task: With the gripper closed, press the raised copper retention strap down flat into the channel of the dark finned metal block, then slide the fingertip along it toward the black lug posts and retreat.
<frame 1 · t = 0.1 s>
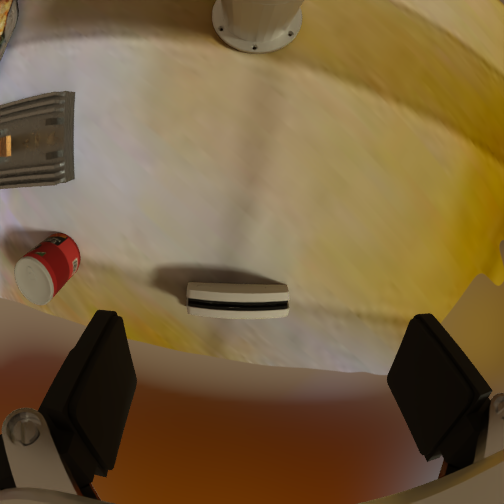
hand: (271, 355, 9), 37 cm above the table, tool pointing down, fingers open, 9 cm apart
heatsink: (33, 140, 38), on the table
canned food: (64, 252, 46), on the table
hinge: (237, 288, 51), on the table
strap: (1, 147, 31), point 7 cm above the table, hinge at 35.0°
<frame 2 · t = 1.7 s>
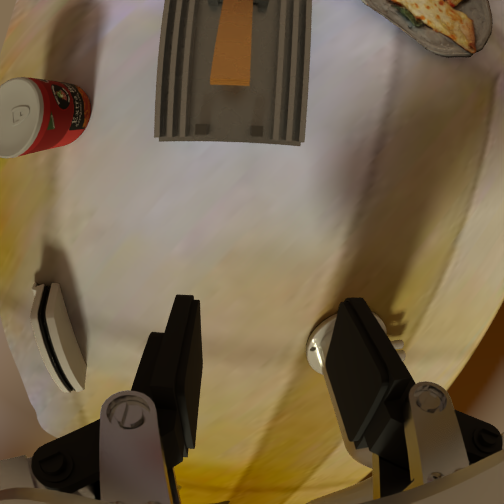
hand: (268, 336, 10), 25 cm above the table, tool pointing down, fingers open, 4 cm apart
heatsink: (234, 65, 28), on the table
canned food: (66, 114, 28), on the table
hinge: (67, 327, 40), on the table
strap: (234, 34, 20), point 7 cm above the table, hinge at 35.0°
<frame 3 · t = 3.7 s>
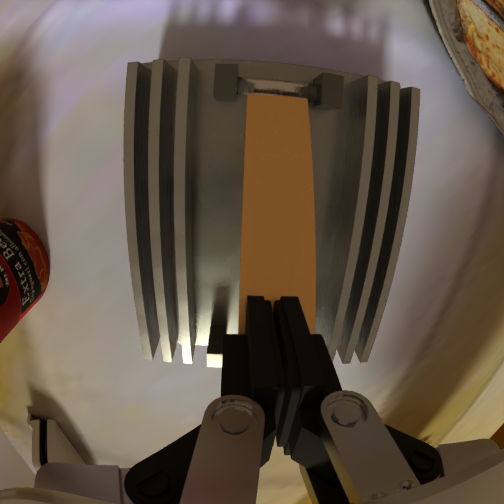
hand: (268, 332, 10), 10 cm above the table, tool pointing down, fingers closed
heatsink: (262, 207, 19), on the table
canned food: (18, 258, 20), on the table
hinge: (72, 449, 31), on the table
strap: (277, 221, 12), point 7 cm above the table, hinge at 33.2°, touching gripper
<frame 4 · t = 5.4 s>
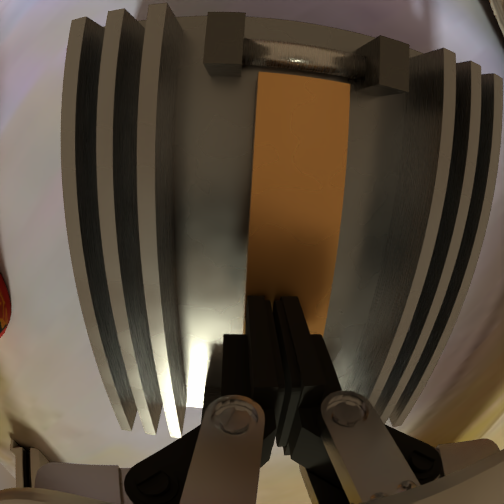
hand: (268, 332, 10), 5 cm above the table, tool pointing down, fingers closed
heatsink: (275, 231, 14), on the table
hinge: (60, 475, 26), on the table
strap: (289, 269, 10), point 4 cm above the table, hinge at 5.7°, touching gripper
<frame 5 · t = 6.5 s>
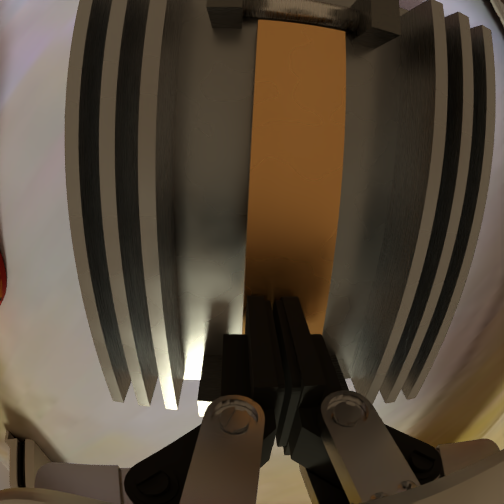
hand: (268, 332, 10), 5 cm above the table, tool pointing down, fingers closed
heatsink: (277, 188, 13), on the table
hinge: (56, 469, 25), on the table
strap: (293, 208, 9), point 4 cm above the table, hinge at 5.7°, touching gripper
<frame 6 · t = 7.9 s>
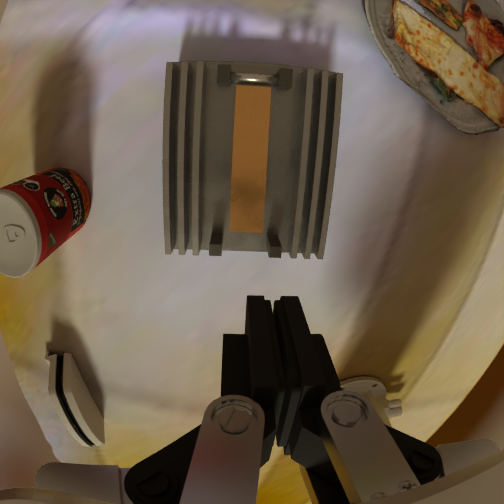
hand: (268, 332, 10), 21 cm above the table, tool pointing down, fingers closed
heatsink: (247, 155, 28), on the table
food plate: (451, 36, 23), on the table
canned food: (64, 200, 29), on the table
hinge: (83, 387, 41), on the table
strap: (249, 158, 24), point 4 cm above the table, hinge at 5.7°
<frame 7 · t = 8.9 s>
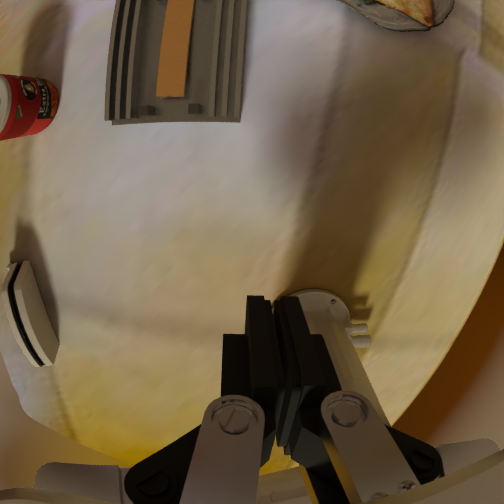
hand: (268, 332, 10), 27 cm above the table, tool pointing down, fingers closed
heatsink: (182, 52, 28), on the table
canned food: (38, 106, 29), on the table
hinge: (40, 304, 41), on the table
strap: (175, 42, 24), point 4 cm above the table, hinge at 5.7°
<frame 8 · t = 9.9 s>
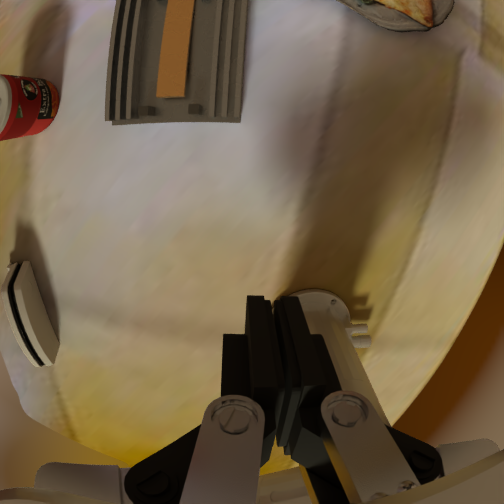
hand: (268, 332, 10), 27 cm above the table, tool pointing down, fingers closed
heatsink: (182, 52, 28), on the table
canned food: (39, 106, 29), on the table
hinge: (40, 305, 41), on the table
strap: (175, 42, 25), point 4 cm above the table, hinge at 5.7°
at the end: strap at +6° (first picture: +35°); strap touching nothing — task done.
